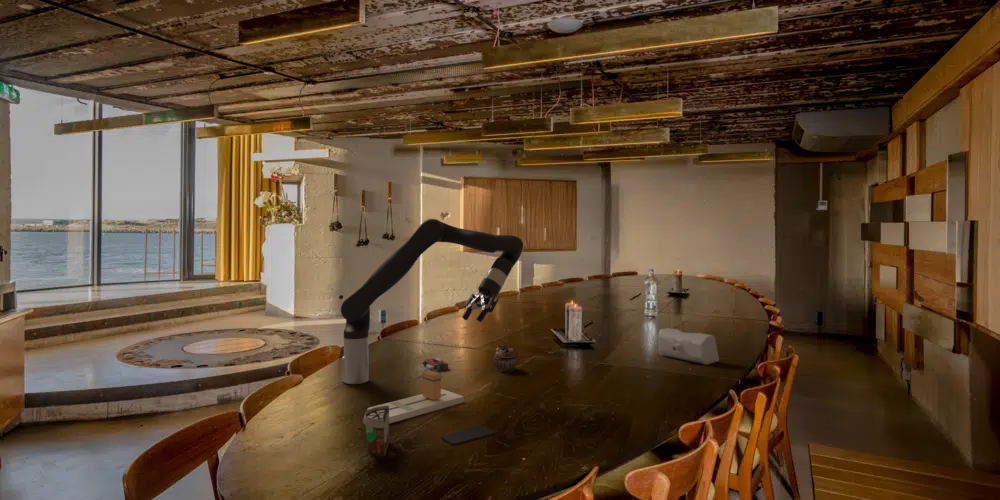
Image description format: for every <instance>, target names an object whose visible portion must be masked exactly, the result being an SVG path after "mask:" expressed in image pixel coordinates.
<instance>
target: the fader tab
mask: <svg viewBox="0 0 1000 500" xmlns="http://www.w3.org/2000/svg"><path fill="white" fill-rule="evenodd" d="M421 375H422V376H421V379H422V388H421V389H422V390H421V391H422V394H423V396H424V397H427V398H429V399H432V400H435V399H439V398H441V389H442V374H441V372H440V373H437V372H434V371H427V370H425V371H422V373H421Z"/></svg>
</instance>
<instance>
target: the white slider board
mask: <svg viewBox="0 0 1000 500" xmlns="http://www.w3.org/2000/svg"><path fill="white" fill-rule="evenodd" d="M464 398H465V396H463V395H460V394H458V393H455V392H452V391H448V390H445V389H443V388H441V398H439V399H435V400H432V399H429V398H427V397H424V396H423V393H421V394H417V395H413V396H410V397H406V398H401V399H398V400H397V399H396V400H395V401H390V402H386V403H382V404H378V405H374V406H371V407H368V408H366V409H367V410H366V411H368V410H370V409H372V408H375V407H379V406H389V425H390V424H392V423H396V422H400V421H403V420H407V419H410V418H413V417H418V416H420V415H424V414H427V413H430V412H434V411H438V410H441V409H445V408H448V407H452V406H456V405H458V404H462V403H464Z"/></svg>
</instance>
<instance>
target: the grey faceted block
mask: <svg viewBox="0 0 1000 500" xmlns="http://www.w3.org/2000/svg"><path fill="white" fill-rule="evenodd" d="M716 342H717V341H716V337H715V336H714V335H713V334H707V333H701V332H683V331H681V330H680V329H675V328H669V327H666V328H660V329H659V332H658V338H657V350H658V354H659V355H660V356H661V357H666V358H670V359H677V360H682V361H686V362H691V363H695V364H700V365H706V366H708V365H711V364H714V363H717V362H718V363H719V360H720V357H719V352H718V348H717V347H718V346H717V343H716Z"/></svg>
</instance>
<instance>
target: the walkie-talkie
mask: <svg viewBox="0 0 1000 500" xmlns="http://www.w3.org/2000/svg"><path fill="white" fill-rule="evenodd" d="M422 365H423V366H424V367H425V371H434V372H437V373H440V374H441V372H442V371H448V370H449V363H447V362H445V361H443V359H441V358H439V357H438V358H437V357H431V358H426V359H424V361H422Z"/></svg>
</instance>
